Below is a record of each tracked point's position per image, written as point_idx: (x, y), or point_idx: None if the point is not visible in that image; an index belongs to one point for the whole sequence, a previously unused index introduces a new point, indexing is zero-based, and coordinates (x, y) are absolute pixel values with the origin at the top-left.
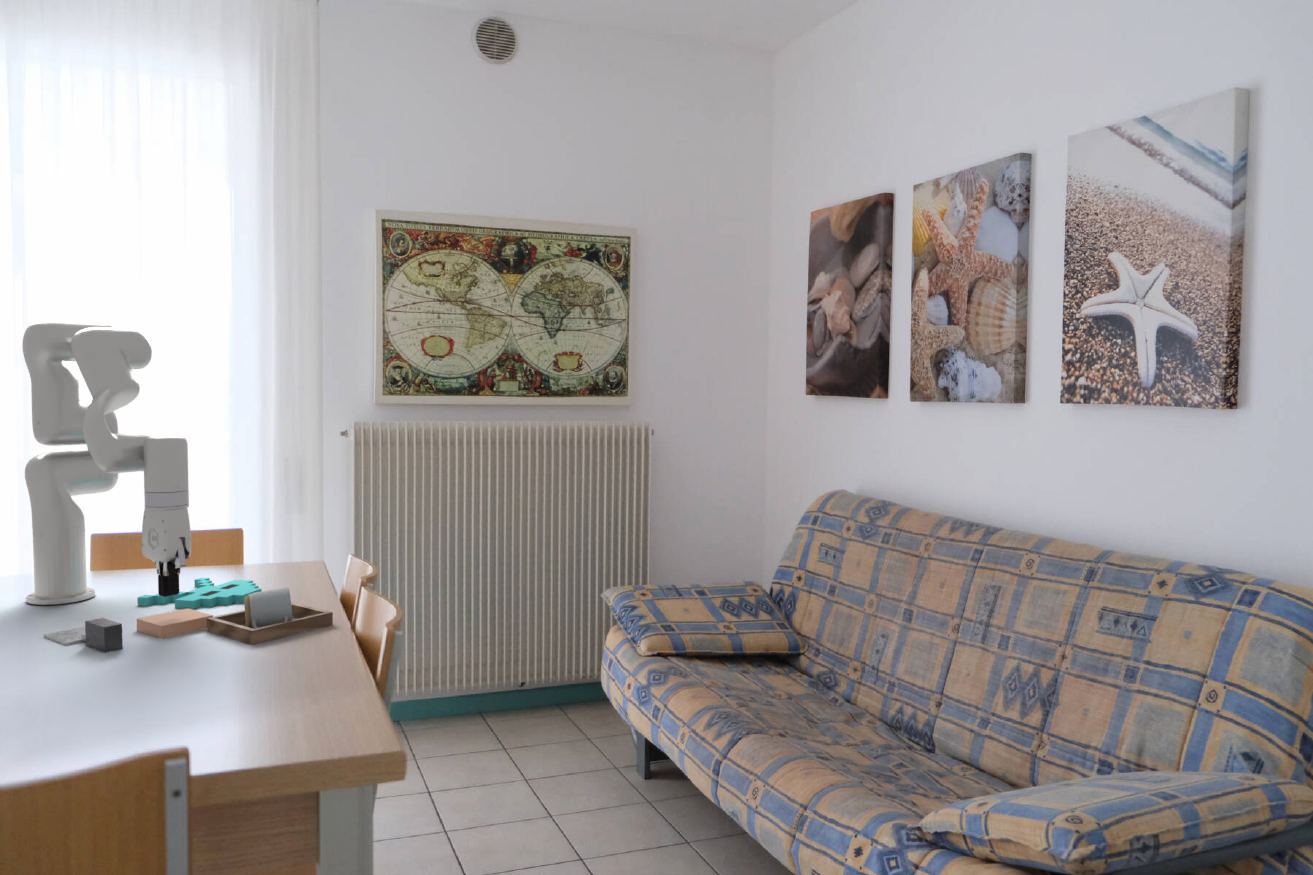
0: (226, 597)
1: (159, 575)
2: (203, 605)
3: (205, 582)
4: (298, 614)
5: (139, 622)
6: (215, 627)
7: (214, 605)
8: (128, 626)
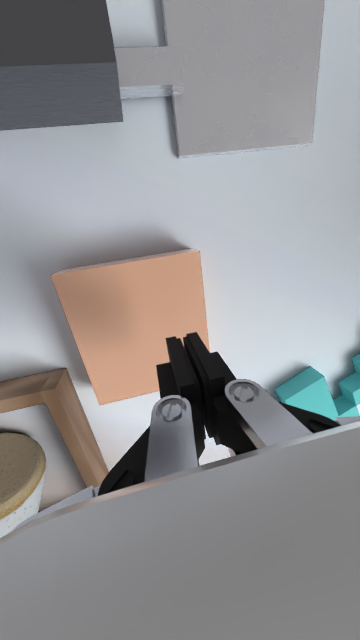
0: None
1: (212, 380)
2: None
3: None
4: None
5: (180, 252)
6: (19, 386)
7: None
8: (243, 247)
